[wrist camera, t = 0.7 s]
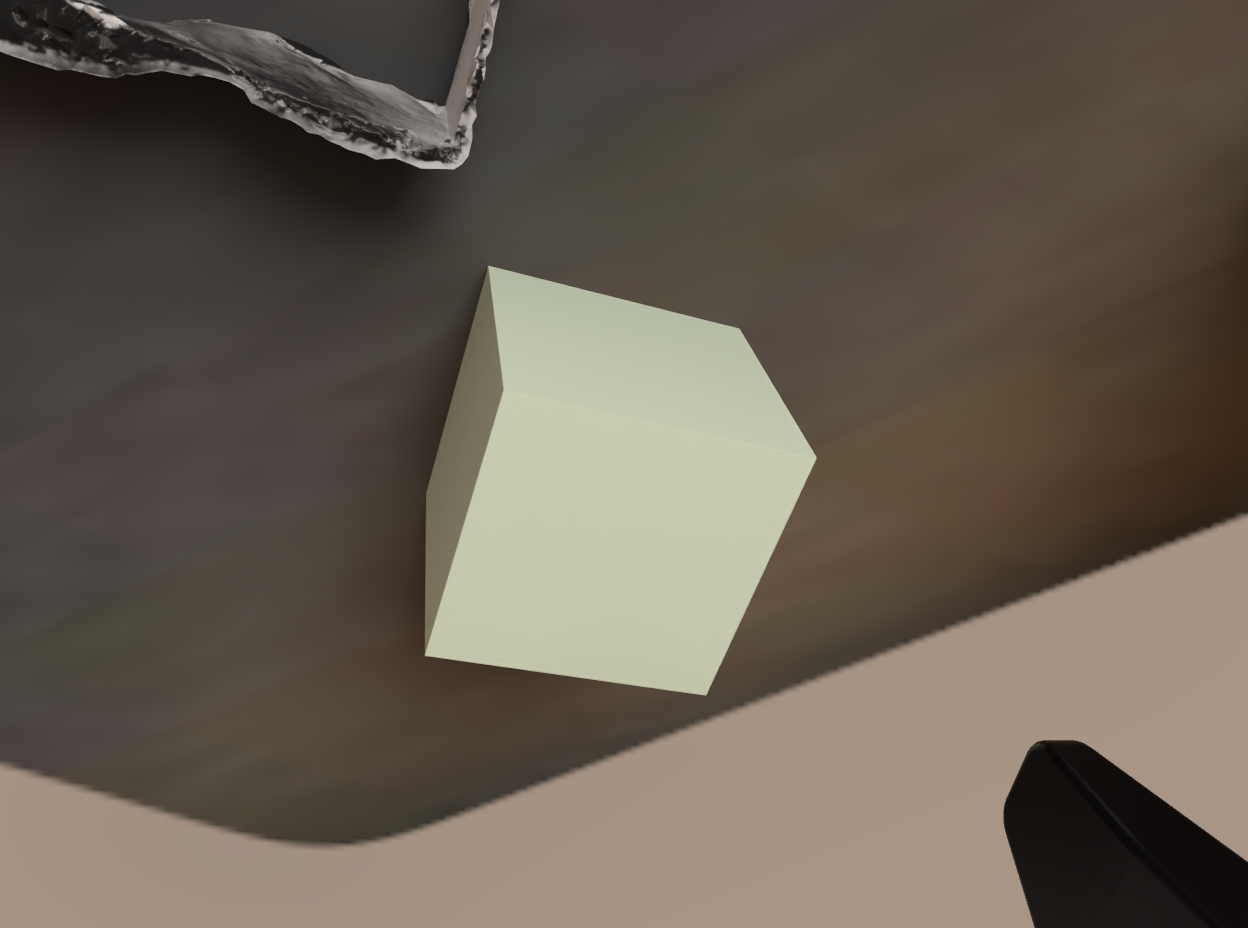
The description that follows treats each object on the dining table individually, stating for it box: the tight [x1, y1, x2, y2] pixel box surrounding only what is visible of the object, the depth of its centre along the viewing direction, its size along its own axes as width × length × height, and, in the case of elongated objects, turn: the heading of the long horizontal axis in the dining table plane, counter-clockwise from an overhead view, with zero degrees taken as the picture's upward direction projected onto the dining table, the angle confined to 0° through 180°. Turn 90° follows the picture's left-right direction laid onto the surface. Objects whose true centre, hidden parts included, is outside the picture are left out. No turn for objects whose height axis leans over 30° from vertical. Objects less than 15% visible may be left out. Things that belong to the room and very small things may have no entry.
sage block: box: [425, 266, 816, 695], centre depth 19 cm, size 5×5×5 cm
